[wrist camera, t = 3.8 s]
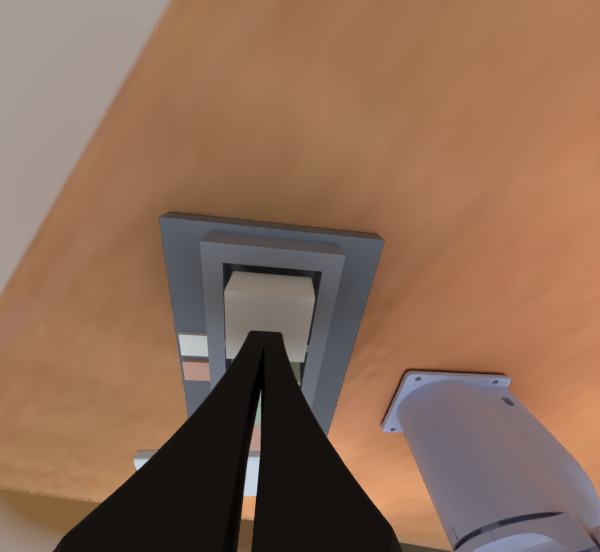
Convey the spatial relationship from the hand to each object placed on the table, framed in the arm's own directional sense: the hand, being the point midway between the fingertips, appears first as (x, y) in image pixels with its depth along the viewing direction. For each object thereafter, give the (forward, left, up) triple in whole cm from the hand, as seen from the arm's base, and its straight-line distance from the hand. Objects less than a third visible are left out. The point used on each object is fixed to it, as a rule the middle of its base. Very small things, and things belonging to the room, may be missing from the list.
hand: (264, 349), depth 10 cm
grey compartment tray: (0, +6, -6) cm, 8 cm away
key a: (0, 0, -3) cm, 3 cm away
